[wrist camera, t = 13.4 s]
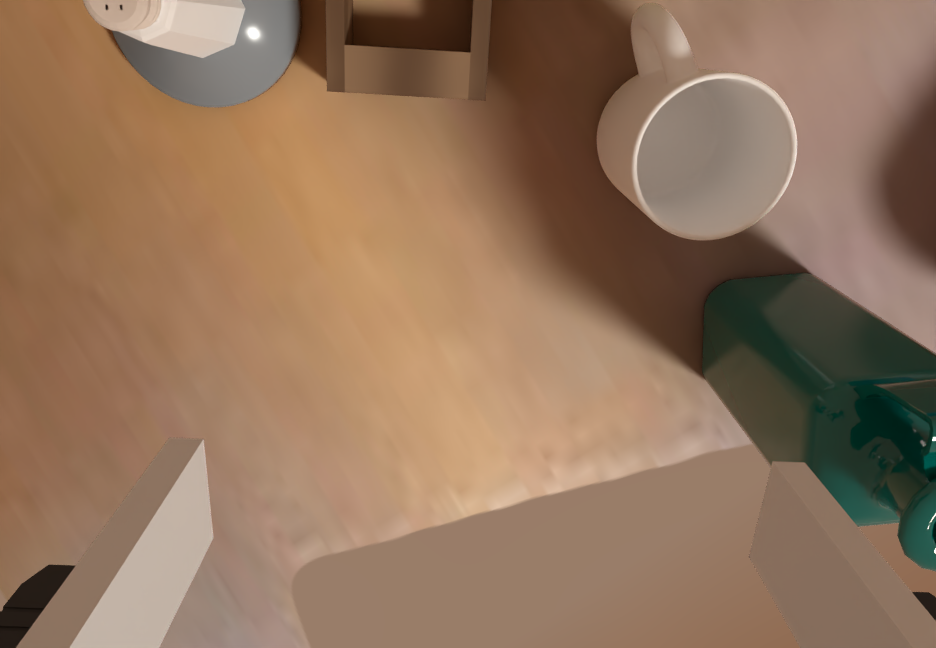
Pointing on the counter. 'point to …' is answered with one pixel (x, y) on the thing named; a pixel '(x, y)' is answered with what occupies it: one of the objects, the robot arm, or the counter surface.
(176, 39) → the salt shaker
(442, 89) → the pocket block
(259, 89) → the grey plate
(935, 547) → the teal bottle
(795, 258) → the counter surface
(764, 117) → the mug
